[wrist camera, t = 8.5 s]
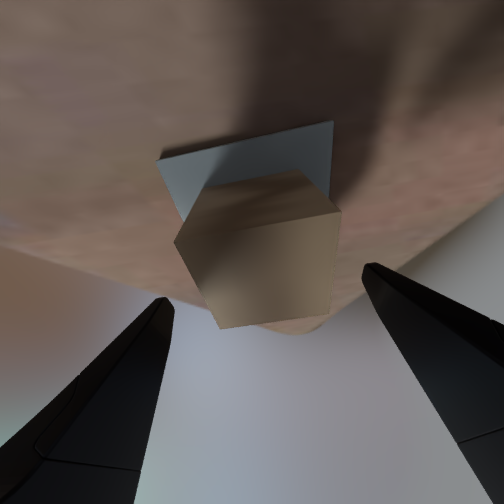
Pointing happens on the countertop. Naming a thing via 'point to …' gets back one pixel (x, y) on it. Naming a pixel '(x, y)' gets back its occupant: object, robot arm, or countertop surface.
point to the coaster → (250, 162)
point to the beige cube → (262, 249)
